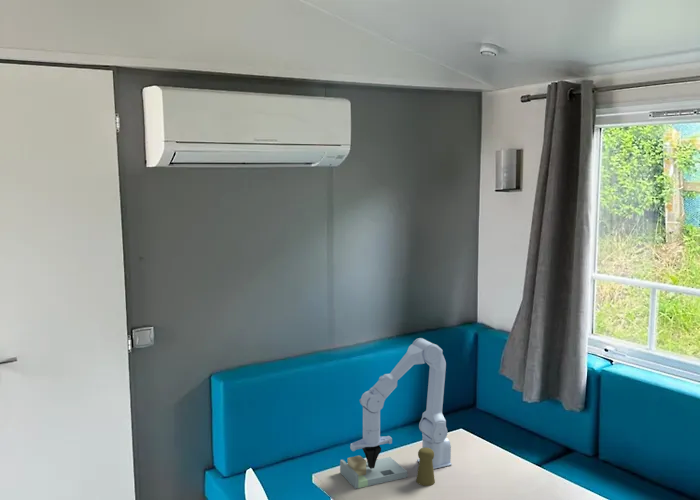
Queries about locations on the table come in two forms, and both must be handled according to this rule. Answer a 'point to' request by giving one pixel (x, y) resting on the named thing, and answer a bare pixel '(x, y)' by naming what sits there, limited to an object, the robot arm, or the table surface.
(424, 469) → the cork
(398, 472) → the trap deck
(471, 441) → the table surface
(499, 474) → the table surface
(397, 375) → the robot arm
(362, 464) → the beech block
